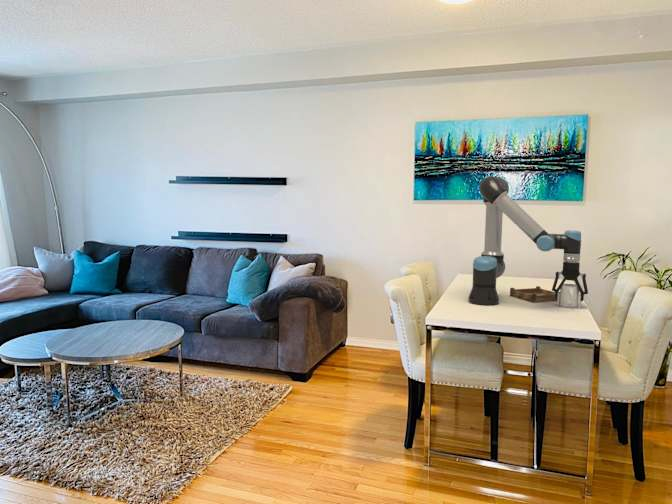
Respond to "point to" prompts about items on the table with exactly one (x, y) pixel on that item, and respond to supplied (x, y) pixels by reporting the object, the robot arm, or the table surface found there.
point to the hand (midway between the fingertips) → (568, 306)
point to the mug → (569, 296)
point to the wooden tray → (533, 294)
